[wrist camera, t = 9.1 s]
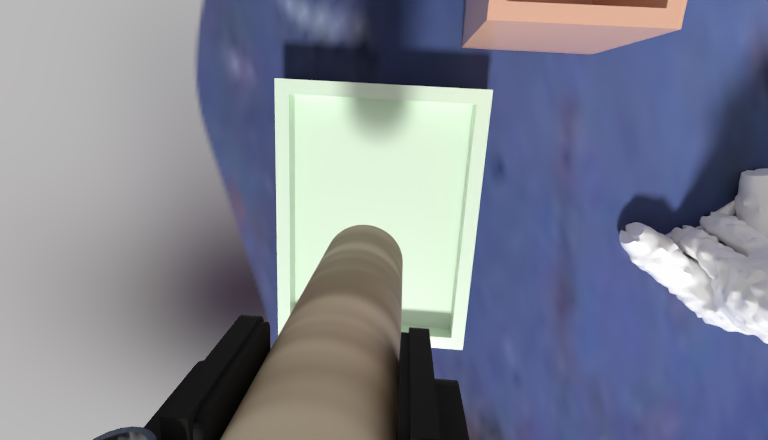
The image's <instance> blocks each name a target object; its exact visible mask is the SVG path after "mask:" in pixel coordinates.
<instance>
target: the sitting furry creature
mask: <svg viewBox="0 0 768 440" xmlns="http://www.w3.org/2000/svg"><path fill="white" fill-rule="evenodd" d="M735 214H736V215H735ZM733 215H735V216H733ZM699 223H700V226H698V227H696V228H694V227H692V226H688V225H682V227H683V229H681V228H678V227H675V228H674V229H673V230H672V231H671V232H670V233H668V234H666V235H663V234H662V233H658V232H656V231H655V230H654V229H653V228H651V227H649V226H646V225H644V224H642V223H639V222H633V223H631V224H627V225H626V226H625V229H626V231H623V230H621V231H620V234H619V241H620V243H621V245H622V247H623V248H624V250H626V251H627V253H628V254H629V255H630V260H631V261H632V262H633V263H635V264H636V265H637V266H638V267H639V268H640V269H642V270H644V271H647V272H648V274H650V275H651V276H652V277H653V278H654V279H655V280H656V281H657V282H659V283H661V284H662V285H663V286H666V287H667V288H668V289H669V292H670V293H672V294H676V295H677V298H678V299H679V300H681V301H682V302H683V303H684V304H685V305H686V307H688V308H689V309H691V310H692V311H695V313H696V314H697V316H698V317H702V319H703V321H704V322H705V323H708V324H712V325H715V326H720V327H721V328H723V329H724V330H726V331H728V332H732V331H738V332H741V333H743V334H746V335H751V334H753V335H756V336H758V337H759V338H760V339H761V340H762V341H763V342H764V343H767V344H768V168H763V169H756V170H755V171H752V170H746V171H744V172H742V173H741V176H740V180H739V188H738V194H737V196H736V197H735V200H734V201H732V202H730V203H729V204H727V205H725V206H724V207H722V208H720V209H719V210H717V211H715V212H710V216H702V217H701V218H700V221H699ZM718 241H719V242H718ZM683 252H684V253H683Z"/></svg>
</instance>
